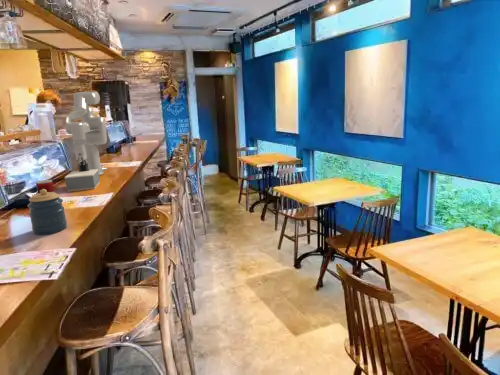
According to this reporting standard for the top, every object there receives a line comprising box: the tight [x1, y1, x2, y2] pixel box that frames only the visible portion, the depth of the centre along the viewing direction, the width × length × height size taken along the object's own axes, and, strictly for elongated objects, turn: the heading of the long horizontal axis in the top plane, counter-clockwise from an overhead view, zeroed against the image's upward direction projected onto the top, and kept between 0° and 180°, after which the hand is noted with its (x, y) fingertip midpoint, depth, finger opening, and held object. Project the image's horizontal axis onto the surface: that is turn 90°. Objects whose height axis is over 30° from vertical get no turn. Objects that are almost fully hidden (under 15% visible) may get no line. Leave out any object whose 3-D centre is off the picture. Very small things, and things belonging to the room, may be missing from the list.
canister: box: [27, 189, 68, 236], centre depth 153 cm, size 13×13×18 cm
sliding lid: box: [64, 162, 98, 179], centre depth 233 cm, size 20×16×6 cm
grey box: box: [64, 171, 101, 192], centre depth 235 cm, size 20×16×8 cm
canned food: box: [35, 179, 55, 194], centre depth 205 cm, size 8×8×11 cm
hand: (84, 170), depth 241 cm, fingers open, 3 cm apart
